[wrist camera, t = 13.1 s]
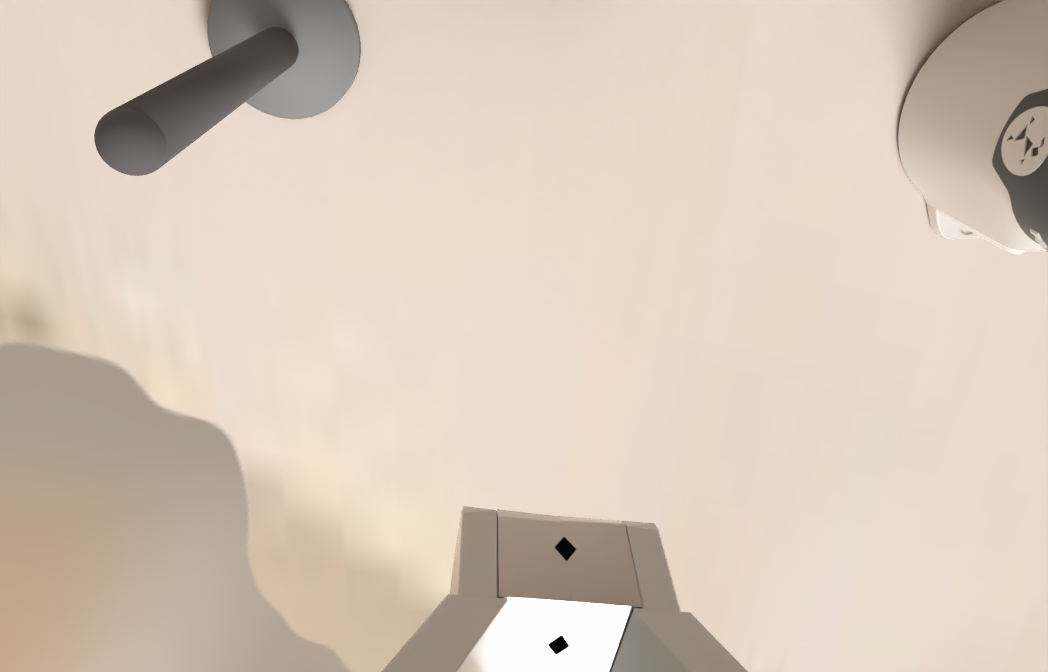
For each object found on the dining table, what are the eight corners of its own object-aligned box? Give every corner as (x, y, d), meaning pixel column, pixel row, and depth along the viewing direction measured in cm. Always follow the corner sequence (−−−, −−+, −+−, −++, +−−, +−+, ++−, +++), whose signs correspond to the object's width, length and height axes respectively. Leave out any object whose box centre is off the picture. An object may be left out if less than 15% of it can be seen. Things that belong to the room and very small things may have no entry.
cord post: (363, -25, 43) (245, 35, 23) (357, 122, 48) (255, 282, 28) (211, -51, 42) (-54, -13, 22) (220, 102, 47) (7, 252, 27)
